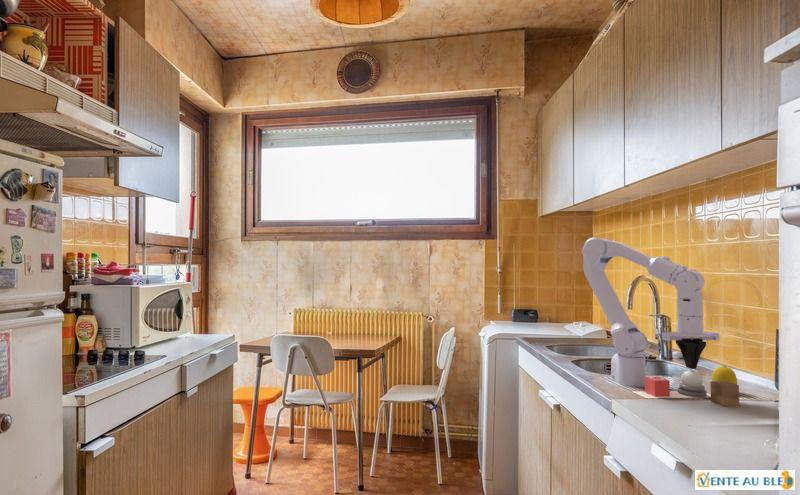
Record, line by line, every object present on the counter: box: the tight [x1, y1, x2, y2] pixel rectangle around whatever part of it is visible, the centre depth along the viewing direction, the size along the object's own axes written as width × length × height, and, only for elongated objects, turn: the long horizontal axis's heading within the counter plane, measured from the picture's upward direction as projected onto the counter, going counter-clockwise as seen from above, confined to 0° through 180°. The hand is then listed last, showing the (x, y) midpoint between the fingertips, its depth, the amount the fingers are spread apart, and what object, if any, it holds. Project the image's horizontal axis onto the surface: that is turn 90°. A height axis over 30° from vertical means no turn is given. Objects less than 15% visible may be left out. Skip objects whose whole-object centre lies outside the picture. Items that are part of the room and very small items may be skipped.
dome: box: [678, 369, 706, 392], centre depth 121 cm, size 6×6×5 cm
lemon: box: [711, 364, 738, 385], centre depth 124 cm, size 6×6×8 cm
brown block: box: [709, 380, 740, 408], centre depth 112 cm, size 4×4×6 cm
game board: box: [631, 387, 711, 399], centre depth 116 cm, size 16×19×2 cm
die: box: [644, 376, 671, 397], centre depth 121 cm, size 4×4×4 cm
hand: (691, 368), depth 121 cm, fingers closed
